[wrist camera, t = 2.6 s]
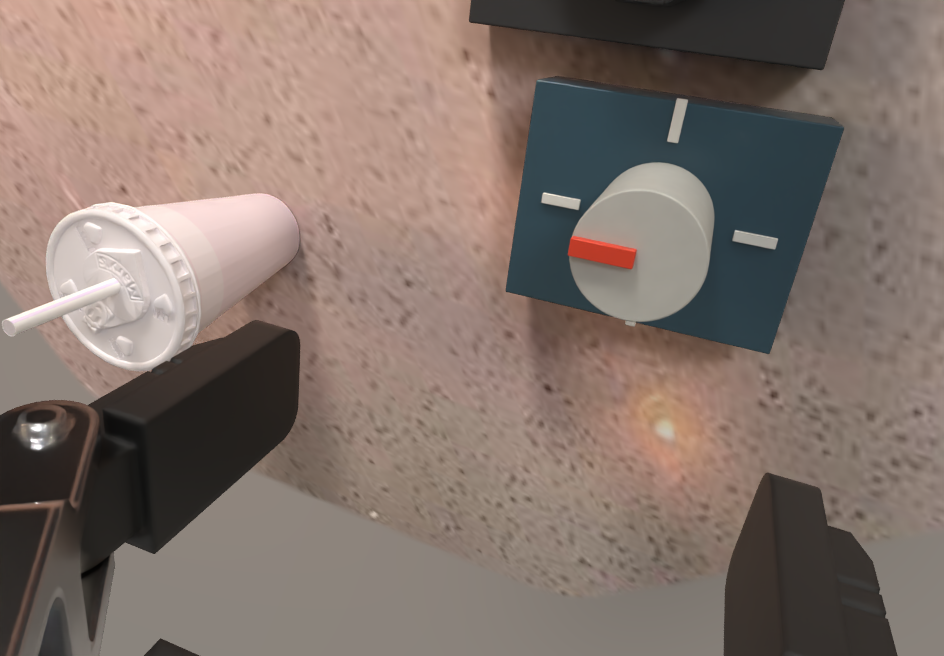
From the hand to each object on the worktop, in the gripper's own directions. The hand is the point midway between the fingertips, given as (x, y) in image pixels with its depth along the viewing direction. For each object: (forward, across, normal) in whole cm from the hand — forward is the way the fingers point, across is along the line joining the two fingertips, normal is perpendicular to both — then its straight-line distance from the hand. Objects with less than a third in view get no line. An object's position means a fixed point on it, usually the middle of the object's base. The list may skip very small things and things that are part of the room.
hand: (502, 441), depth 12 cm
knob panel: (+18, -1, 0) cm, 18 cm away
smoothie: (+19, +17, +5) cm, 26 cm away
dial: (+15, -1, 0) cm, 15 cm away
